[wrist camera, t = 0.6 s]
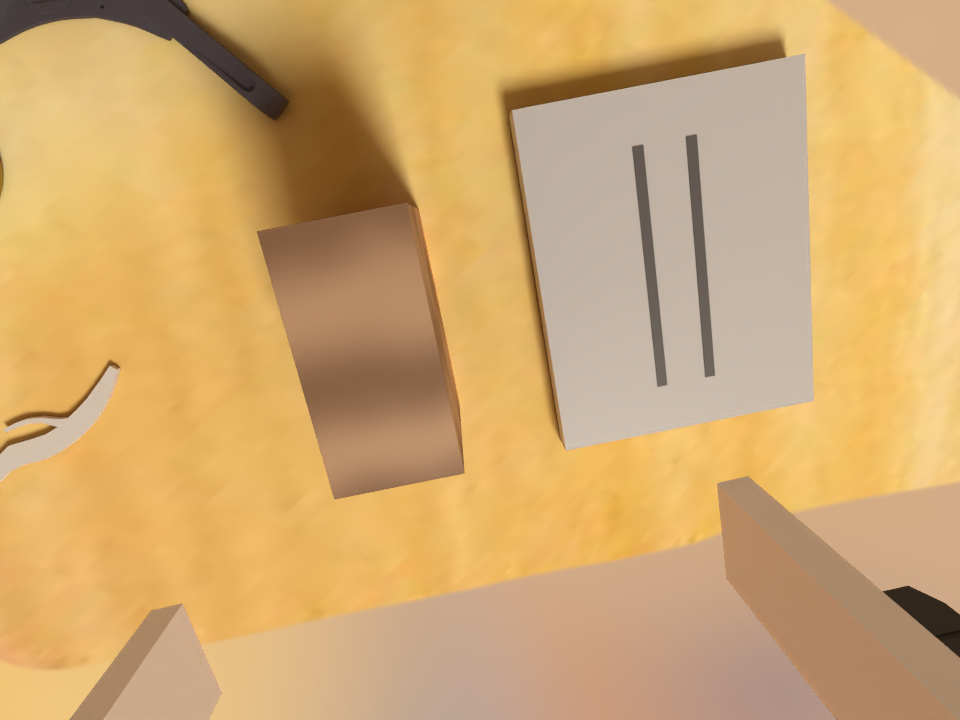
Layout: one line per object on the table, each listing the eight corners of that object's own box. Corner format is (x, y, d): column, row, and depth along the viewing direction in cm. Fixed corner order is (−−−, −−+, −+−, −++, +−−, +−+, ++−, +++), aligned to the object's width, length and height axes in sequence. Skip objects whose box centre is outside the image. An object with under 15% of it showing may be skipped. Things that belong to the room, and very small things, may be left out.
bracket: (215, 217, 31) (194, 217, 28) (-34, 30, 28) (-86, 9, 25) (365, 4, 28) (357, -19, 26) (112, -226, 25) (73, -279, 23)
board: (508, 115, 30) (512, 109, 28) (787, 62, 30) (805, 53, 28) (560, 441, 35) (566, 451, 33) (798, 393, 35) (814, 401, 33)
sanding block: (316, 229, 31) (257, 231, 21) (418, 209, 31) (406, 202, 21) (366, 420, 34) (334, 499, 24) (459, 401, 34) (464, 473, 24)
